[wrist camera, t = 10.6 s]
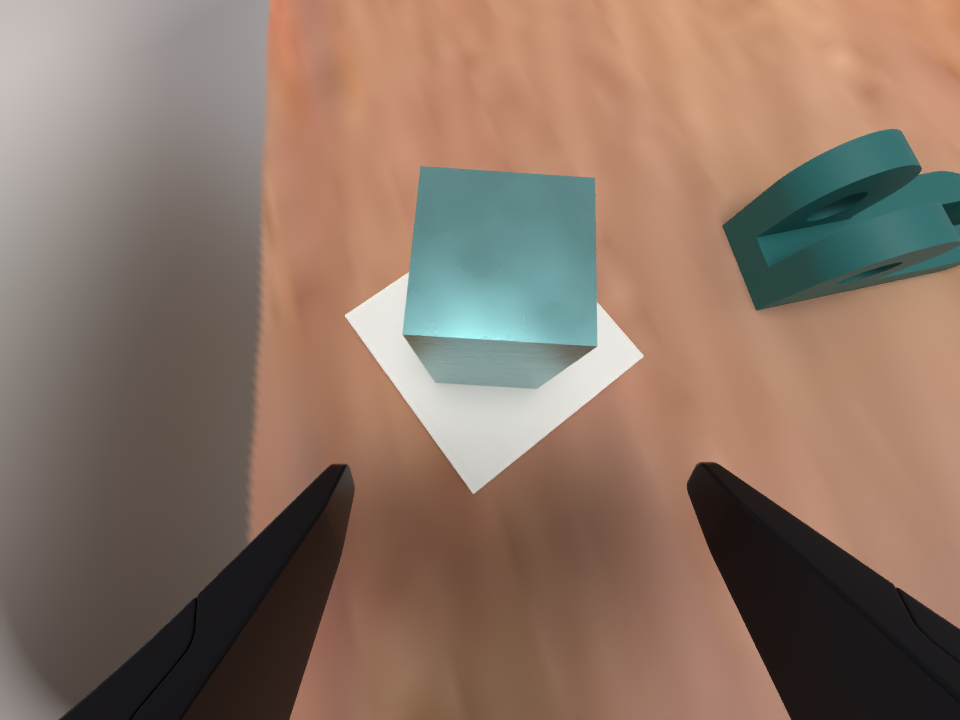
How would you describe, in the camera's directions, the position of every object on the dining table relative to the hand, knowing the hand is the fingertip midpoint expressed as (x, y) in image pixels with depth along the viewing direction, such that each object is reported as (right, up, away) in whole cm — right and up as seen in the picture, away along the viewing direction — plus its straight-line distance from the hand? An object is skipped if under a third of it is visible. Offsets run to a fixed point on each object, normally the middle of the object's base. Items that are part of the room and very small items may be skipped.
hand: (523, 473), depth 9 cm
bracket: (+26, +11, +17) cm, 33 cm away
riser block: (0, +4, +15) cm, 15 cm away
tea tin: (-1, +4, +12) cm, 13 cm away
